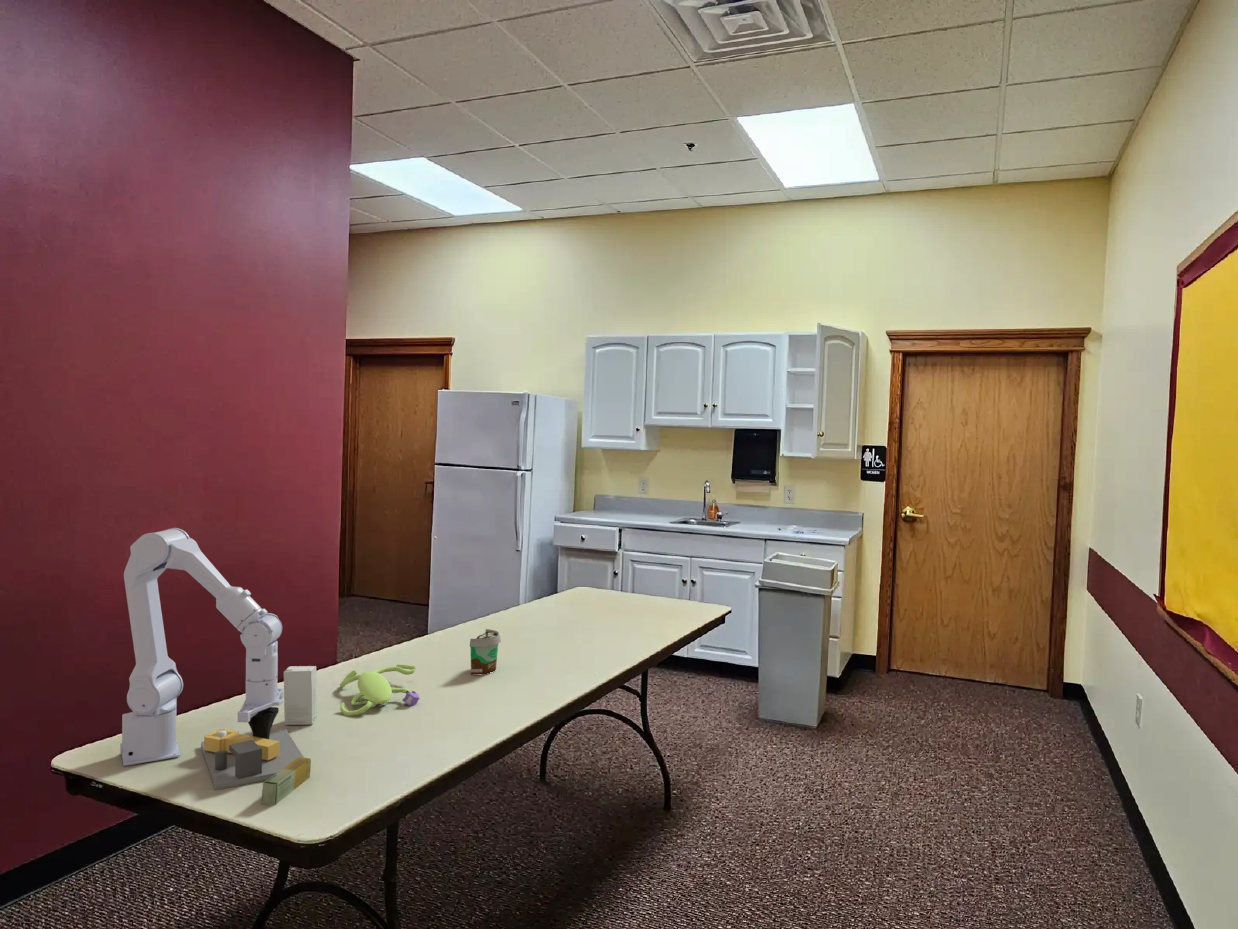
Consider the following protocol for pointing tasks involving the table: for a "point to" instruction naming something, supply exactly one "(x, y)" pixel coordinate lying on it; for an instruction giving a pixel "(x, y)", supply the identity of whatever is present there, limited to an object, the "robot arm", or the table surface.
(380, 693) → the figurine
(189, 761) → the table surface
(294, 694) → the skincare box
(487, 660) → the food container
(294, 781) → the medication box
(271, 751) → the link
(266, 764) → the base
